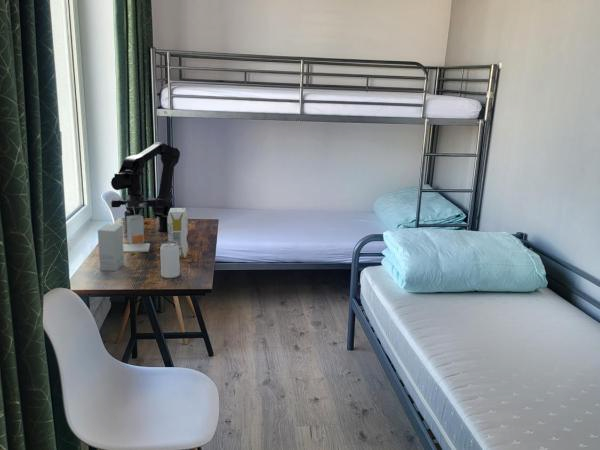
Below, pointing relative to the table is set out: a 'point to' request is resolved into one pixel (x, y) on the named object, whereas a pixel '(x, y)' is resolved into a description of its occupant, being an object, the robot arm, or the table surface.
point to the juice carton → (178, 229)
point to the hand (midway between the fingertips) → (135, 221)
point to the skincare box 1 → (111, 247)
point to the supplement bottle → (128, 213)
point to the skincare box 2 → (135, 229)
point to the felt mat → (136, 247)
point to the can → (170, 259)
